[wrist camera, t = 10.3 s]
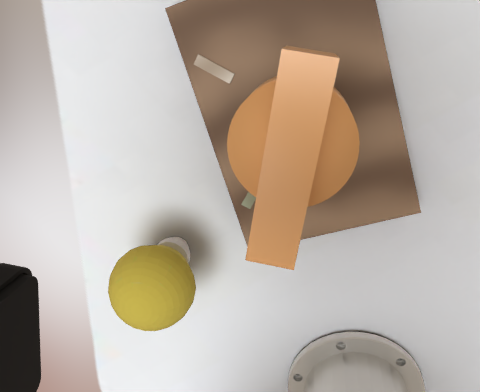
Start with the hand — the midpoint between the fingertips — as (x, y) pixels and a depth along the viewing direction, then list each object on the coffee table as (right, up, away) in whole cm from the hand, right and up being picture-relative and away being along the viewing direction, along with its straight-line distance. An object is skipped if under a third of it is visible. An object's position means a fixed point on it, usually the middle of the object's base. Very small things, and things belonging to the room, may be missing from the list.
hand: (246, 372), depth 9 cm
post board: (+4, +10, +26) cm, 29 cm away
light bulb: (-6, -1, +32) cm, 33 cm away
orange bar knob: (+3, +7, +19) cm, 20 cm away
